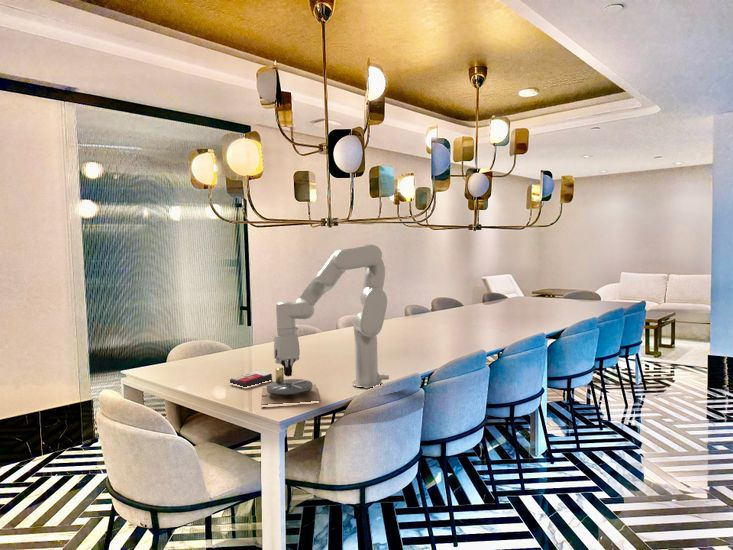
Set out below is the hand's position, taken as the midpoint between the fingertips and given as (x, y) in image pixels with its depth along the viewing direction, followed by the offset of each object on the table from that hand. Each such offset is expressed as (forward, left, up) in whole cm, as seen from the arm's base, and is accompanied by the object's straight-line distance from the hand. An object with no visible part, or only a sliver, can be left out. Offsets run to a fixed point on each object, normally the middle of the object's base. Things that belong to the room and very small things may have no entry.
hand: (288, 375), depth 210 cm
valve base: (0, +8, -7) cm, 10 cm away
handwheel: (0, +8, -5) cm, 9 cm away
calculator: (+16, -18, -8) cm, 25 cm away
